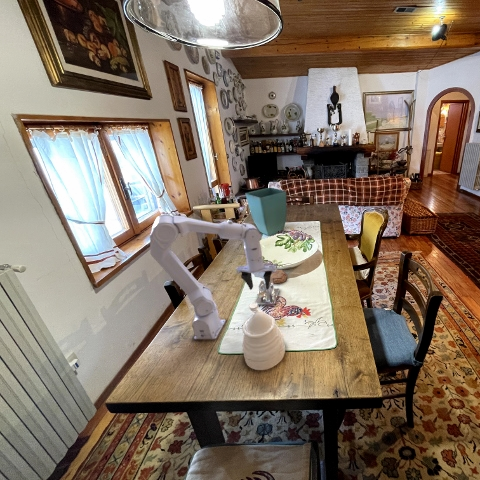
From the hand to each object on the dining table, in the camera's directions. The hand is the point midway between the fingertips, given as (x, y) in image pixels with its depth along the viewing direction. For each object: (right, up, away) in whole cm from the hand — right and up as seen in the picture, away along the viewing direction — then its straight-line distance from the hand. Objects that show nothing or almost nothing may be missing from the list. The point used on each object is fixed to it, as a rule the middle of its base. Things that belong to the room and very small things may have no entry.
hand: (259, 288), depth 97 cm
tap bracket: (+1, -6, +11) cm, 13 cm away
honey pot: (+6, -18, -15) cm, 25 cm away
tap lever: (0, -3, +5) cm, 6 cm away
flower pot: (-11, +24, +82) cm, 86 cm away
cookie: (+3, 0, +25) cm, 25 cm away
